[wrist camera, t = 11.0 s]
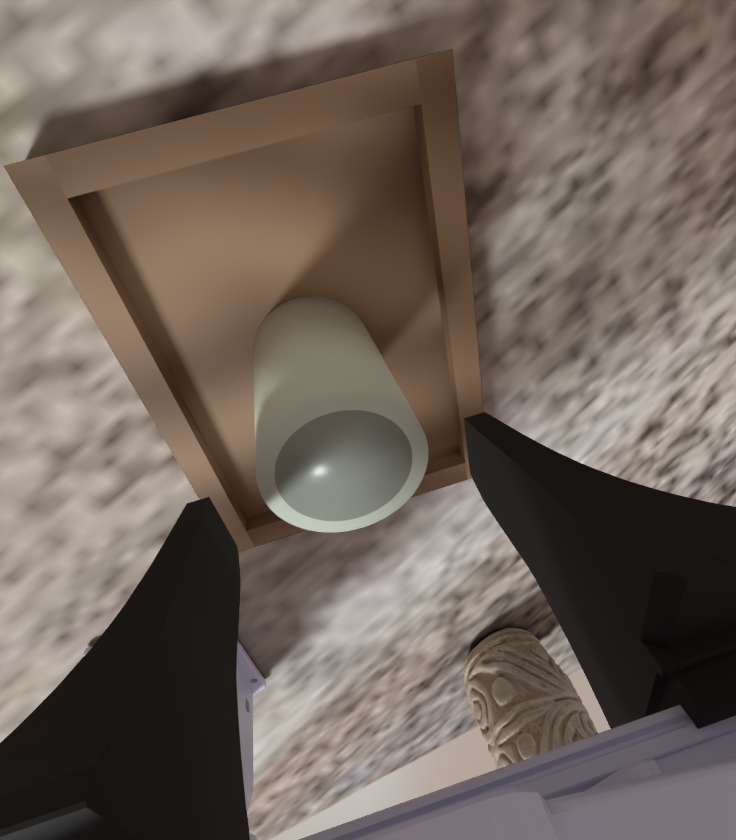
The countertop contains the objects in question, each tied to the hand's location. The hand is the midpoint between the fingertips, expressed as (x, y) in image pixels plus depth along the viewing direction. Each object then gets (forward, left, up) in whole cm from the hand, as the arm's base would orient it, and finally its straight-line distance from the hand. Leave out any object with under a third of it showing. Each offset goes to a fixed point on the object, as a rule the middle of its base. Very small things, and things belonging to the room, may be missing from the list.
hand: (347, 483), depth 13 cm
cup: (0, 0, -9) cm, 9 cm away
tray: (0, 0, -9) cm, 9 cm away
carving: (-29, -7, -10) cm, 31 cm away
